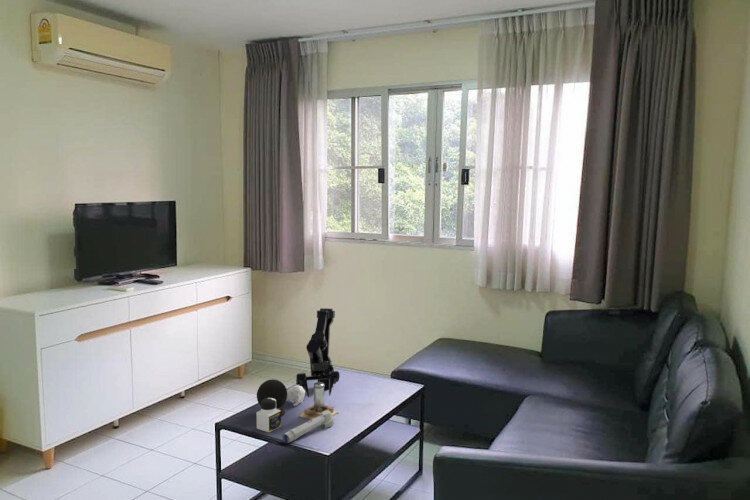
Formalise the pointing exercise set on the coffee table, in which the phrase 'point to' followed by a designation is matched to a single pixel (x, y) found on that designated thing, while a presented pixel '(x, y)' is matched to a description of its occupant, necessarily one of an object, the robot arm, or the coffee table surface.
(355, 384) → the coffee table surface
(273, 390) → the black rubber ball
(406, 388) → the coffee table surface
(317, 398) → the metal canister
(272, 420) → the medicine bottle
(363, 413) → the coffee table surface
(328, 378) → the robot arm
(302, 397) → the white rounded lump
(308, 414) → the jig
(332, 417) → the octagon-capped white rod
